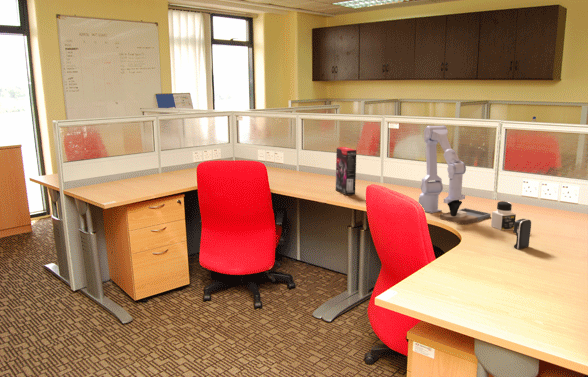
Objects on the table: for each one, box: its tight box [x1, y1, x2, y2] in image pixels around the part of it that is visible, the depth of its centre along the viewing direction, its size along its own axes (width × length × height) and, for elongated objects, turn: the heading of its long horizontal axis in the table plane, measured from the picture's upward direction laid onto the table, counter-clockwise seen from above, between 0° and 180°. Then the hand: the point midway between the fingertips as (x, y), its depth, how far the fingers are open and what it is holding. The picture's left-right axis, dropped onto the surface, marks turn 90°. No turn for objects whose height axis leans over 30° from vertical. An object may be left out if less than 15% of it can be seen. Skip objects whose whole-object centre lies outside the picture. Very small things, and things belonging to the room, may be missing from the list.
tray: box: [459, 207, 492, 222], centre depth 232 cm, size 14×11×2 cm
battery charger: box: [512, 218, 532, 250], centre depth 185 cm, size 7×4×11 cm, turn 124°
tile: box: [455, 209, 467, 218], centre depth 225 cm, size 5×5×2 cm
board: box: [439, 211, 479, 226], centre depth 225 cm, size 14×10×2 cm
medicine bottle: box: [490, 200, 516, 231], centre depth 211 cm, size 7×7×12 cm
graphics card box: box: [335, 146, 357, 196], centre depth 284 cm, size 17×7×27 cm, turn 17°
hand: (453, 215), depth 222 cm, fingers closed
